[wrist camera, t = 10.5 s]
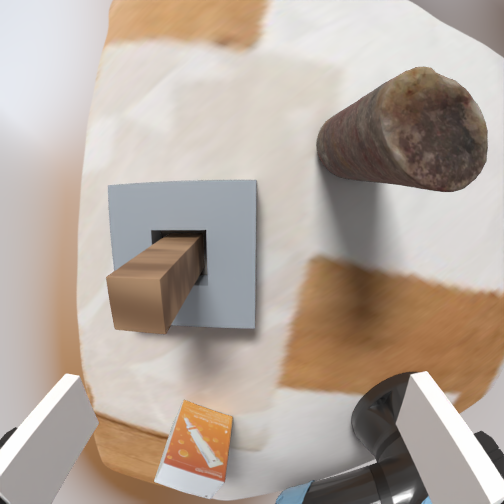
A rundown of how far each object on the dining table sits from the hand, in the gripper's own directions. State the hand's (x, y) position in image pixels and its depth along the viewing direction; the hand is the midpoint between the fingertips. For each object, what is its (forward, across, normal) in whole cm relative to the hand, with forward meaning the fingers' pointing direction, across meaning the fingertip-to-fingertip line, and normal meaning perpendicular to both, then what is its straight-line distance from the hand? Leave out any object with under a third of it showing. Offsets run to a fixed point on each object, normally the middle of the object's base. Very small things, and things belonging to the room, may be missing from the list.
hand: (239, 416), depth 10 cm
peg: (+25, +8, -1) cm, 26 cm away
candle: (+25, -11, -12) cm, 30 cm away
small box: (+26, +9, +26) cm, 38 cm away
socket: (+25, +8, -1) cm, 26 cm away
